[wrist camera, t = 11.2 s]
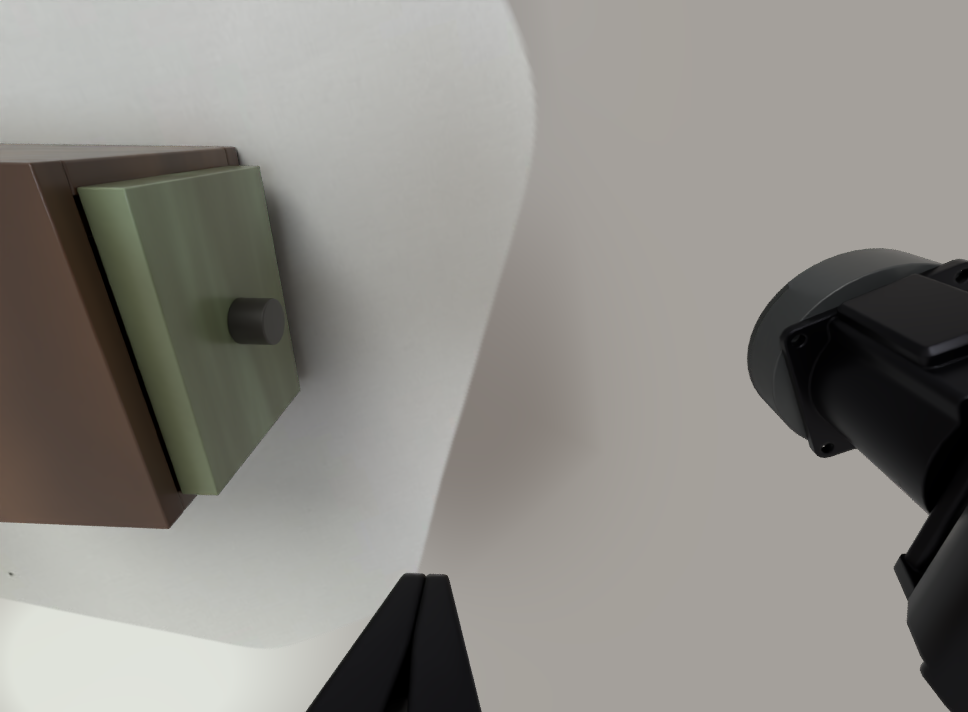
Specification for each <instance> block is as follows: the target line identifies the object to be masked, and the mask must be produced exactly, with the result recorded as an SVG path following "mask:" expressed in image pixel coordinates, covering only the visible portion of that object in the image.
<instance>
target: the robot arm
mask: <svg viewBox="0 0 968 712" xmlns="http://www.w3.org/2000/svg"><path fill="white" fill-rule="evenodd" d="M961 270H962V272H961V274H960V275H959V277H957V278H956V275H957V274H958V272H960V271H961ZM797 335H800V337H799V339H798V340H797V341H795V342H792V339H793V338H794V337H795V336H797ZM779 341H780V345H781V349H782V352H783V356H784V359H785V363H786V366H787V369H788V373H789V376H790V380H791V383H792V387H793V390H794V394H795V397H796V401H797V404H798V408H799V411H800V414H801V418H802V421H803V425H804V428H805V432H806V435H807V439H808V442H809V445H810V448H811V449H812V451H814V453H815V454H816V455H817V456H819V457H823V458H827V457H831V456H834V455H837V454H840V453H843V452H846V451H849V450H852V449H855V448H857V449H858V450H859V451H860V452H861V453H863V455H865V456H866V457H867V458H868V459H869V460H870V461H871V462H872V463H873V464H874V465H875V466H877V467H878V468H879V469H880V470H881V471H882V472H883V473H884V474H885V475H886V476H887V477H888V478H889V479H891V480H892V481H893V482H894V483H895V484H896V485H897V486H898V487H899V488H900V489H902V491H904V492H905V493H906V494H907V495H908V496H909V497H910V498H912V500H914V502H916V503H917V504H918V505H919V506H920V507H921V508H922V509H923V510H924V511H925V512H926V513H927V514H929V516H928V518H927V520H926V522H925V523H924V525H923V526H922V528H921V530H920V531H919V533H918V535H917V537H916V538H915V540H914V542H913V543H912V545H911V547H910V548H909V550H908V552H907V553H906V554H901V556H900V557H899V559H898V561H897V562H896V564H895V566H894V570H895V573H896V575H897V577H898V580H899V582H900V584H901V586H902V589H903V591H904V594H905V596H906V598H907V600H908V610H907V625H908V627H909V629H910V632H911V634H912V637H913V639H914V642H915V644H916V646H917V649H918V651H919V654H920V656H921V657H922V659H923V661H924V662H923V663H922V664H921V667H920V671H921V674H922V676H923V677H924V678H925V680H926V681H927V683H928V684H929V685H930V686H931V688H932V689H933V690H934V692H935V693H936V694H937V696H938V697H939V698H940V700H941V701H942V702H943V703H944V705H945V706H946V707H947V708H948V709H949V710H950V712H968V261H967V260H964V259H956V260H952V261H950V262H947V263H945V264H942V265H940V266H937V267H935V268H932V269H930V270H927V271H925V272H922V273H920V274H912V275H909V276H907V277H904V278H902V279H899V280H897V281H894V282H892V283H889V284H887V285H884V286H882V287H879V288H877V289H874V290H872V291H870V292H867V293H865V294H862V295H860V296H857V297H855V298H852V299H850V300H847V301H845V302H843V303H842V304H841V305H839V306H838V307H835V308H833V309H830V310H828V311H825V312H823V313H820V314H818V315H815V316H813V317H810V318H808V319H805V320H803V321H800V322H798V323H795V324H793V325H790V326H789V327H787V328H785V329H784V330H783V331H782V332H781V335H780V337H779ZM827 443H828V444H827ZM825 444H827V445H826V446H824V447H823V445H825ZM306 712H481V707H480V703H479V700H478V695H477V691H476V687H475V683H474V679H473V675H472V671H471V667H470V663H469V658H468V654H467V651H466V647H465V642H464V638H463V635H462V630H461V626H460V622H459V618H458V614H457V610H456V606H455V601H454V597H453V594H452V589H451V585H450V581H449V578H448V576H447V575H444V574H442V575H441V574H429V575H427V576H425V575H424V574H420V573H406V574H404V575H403V576H402V577H401V578H400V579H399V581H398V582H397V584H396V585H395V586H394V588H393V589H392V591H391V592H390V594H389V595H388V596H387V598H386V599H385V601H384V602H383V603H382V605H381V606H380V608H379V609H378V610H377V612H376V613H375V615H374V616H373V618H372V619H371V620H370V622H369V623H368V625H367V626H366V628H365V629H364V630H363V632H362V633H361V635H360V636H359V637H358V639H357V640H356V641H355V643H354V644H353V646H352V647H351V649H350V650H349V651H348V653H347V654H346V656H345V657H344V658H343V660H342V661H341V663H340V664H339V665H338V667H337V668H336V670H335V671H334V673H333V674H332V675H331V677H330V678H329V680H328V681H327V682H326V684H325V685H324V687H323V688H322V689H321V691H320V692H319V694H318V695H317V697H316V698H315V699H314V701H313V702H312V704H311V705H310V706H309V708H308V709H307V711H306Z"/></svg>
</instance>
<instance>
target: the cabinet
mask: <svg viewBox="0 0 968 712" xmlns="http://www.w3.org/2000/svg"><path fill="white" fill-rule="evenodd" d="M222 166H239V162H238V157H237V152H236V148H235V147H220V146H140V145H60V144H0V522H11V523H35V524H59V525H83V526H108V527H132V528H156V529H169V528H170V527H171V526H172V525H173V524H174V522H175V521H176V520H177V519H178V518H179V516H180V515H181V514H182V513H183V511H184V510H185V509H186V508H187V507H188V505H189V504H190V503H191V502H192V501H193V499H194V498H195V497H196V496H197V495H194V494H183V493H182V491H181V488H180V485H179V482H178V479H177V477H176V474H175V471H174V468H173V465H172V462H171V459H170V456H169V453H168V451H167V448H166V447H165V448H164V449H163V450H162V447H161V444H160V441H159V439H158V436H157V433H156V430H155V427H154V424H153V421H152V419H151V416H150V413H149V410H148V407H147V404H146V402H145V399H144V396H143V393H142V390H141V387H140V385H139V382H138V379H137V376H136V373H135V370H134V368H133V365H132V362H131V359H130V356H129V353H128V351H127V348H126V345H125V342H124V339H123V336H122V334H121V331H120V328H119V325H118V322H117V319H116V317H115V314H114V311H113V308H112V305H111V302H110V300H109V297H108V294H107V291H106V288H105V285H104V282H103V280H102V277H101V274H100V271H99V268H98V265H97V263H96V260H95V257H94V254H93V251H92V248H91V246H90V243H89V240H88V237H87V234H86V231H85V229H84V226H83V223H82V220H81V217H80V214H79V212H78V209H77V206H76V203H75V200H74V197H73V196H78V195H79V194H78V191H77V188H78V187H82V186H89V185H96V184H103V183H110V182H117V181H124V180H131V179H138V178H145V177H152V176H159V175H166V174H173V173H180V172H187V171H194V170H201V169H208V168H215V167H222Z"/></svg>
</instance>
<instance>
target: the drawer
mask: <svg viewBox="0 0 968 712" xmlns="http://www.w3.org/2000/svg"><path fill="white" fill-rule="evenodd" d="M77 191H78V194H79V195H78V196H73V197H74V200H75V203H76V206H77V209H78V212H79V214H80V217H81V220H82V223H83V226H84V229H85V231H86V234H87V237H88V240H89V243H90V246H91V248H92V251H93V254H94V257H95V260H96V263H97V265H98V268H99V271H100V274H101V277H102V280H103V282H104V285H105V288H106V291H107V294H108V297H109V300H110V302H111V305H112V308H113V311H114V314H115V317H116V319H117V322H118V325H119V328H120V331H121V334H122V336H123V339H124V342H125V345H126V348H127V351H128V353H129V356H130V359H131V362H132V365H133V368H134V370H135V373H136V376H137V379H138V382H139V385H140V387H141V390H142V393H143V396H144V399H145V402H146V404H147V407H148V410H149V413H150V416H151V419H152V421H153V424H154V427H155V430H156V433H157V436H158V439H159V441H160V444H161V447H162V450H163V449H164V448H165V447H166V448H167V451H168V453H169V456H170V459H171V462H172V465H173V468H174V471H175V474H176V477H177V479H178V482H179V485H180V488H181V491H182V493H183V494H194V495H219V494H220V492H221V491H222V490H223V488H224V487H225V486H226V485H227V483H228V482H229V481H230V480H231V478H232V477H233V476H234V474H235V473H236V472H237V471H238V469H239V468H240V467H241V465H242V464H243V463H244V462H245V460H246V459H247V458H248V456H249V455H250V454H251V453H252V451H253V450H254V449H255V448H256V446H257V445H258V444H259V442H260V441H261V440H262V439H263V437H264V436H265V435H266V433H267V432H268V431H269V430H270V428H271V427H272V426H273V424H274V423H275V422H276V421H277V419H278V418H279V417H280V416H281V414H282V413H283V412H284V410H285V409H286V408H287V407H288V405H289V404H290V403H291V401H292V400H293V399H294V398H295V396H296V395H297V394H298V393H299V391H300V385H299V380H298V374H297V369H296V363H295V358H294V352H293V347H292V342H291V336H290V331H289V325H288V320H287V314H286V309H285V303H284V298H283V293H282V287H281V282H280V276H279V271H278V265H277V260H276V255H275V249H274V244H273V238H272V233H271V227H270V222H269V216H268V211H267V206H266V200H265V195H264V189H263V184H262V178H261V173H260V168H259V166H222V167H215V168H208V169H201V170H194V171H187V172H180V173H173V174H166V175H159V176H152V177H145V178H138V179H131V180H124V181H117V182H110V183H103V184H96V185H89V186H82V187H78V188H77Z"/></svg>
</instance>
